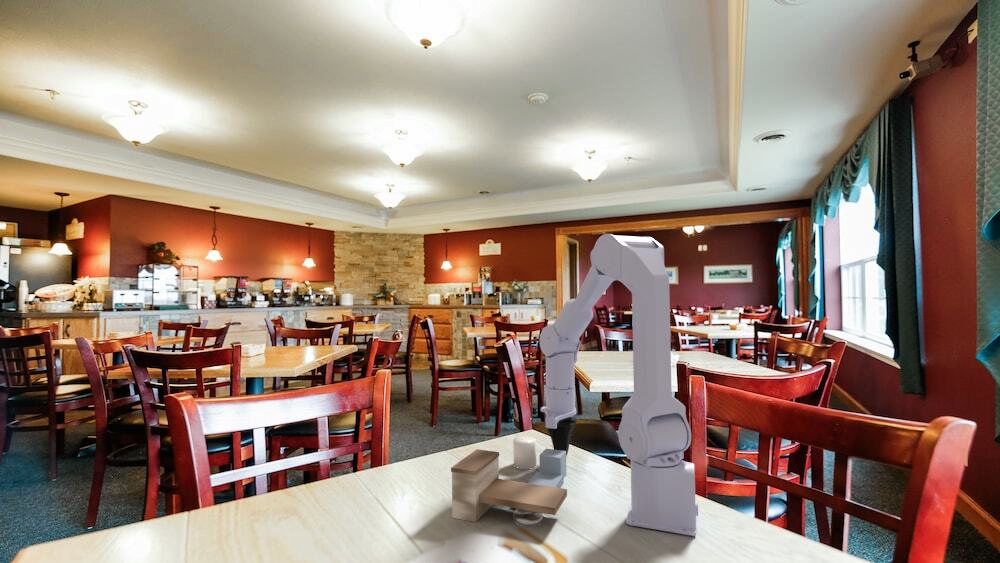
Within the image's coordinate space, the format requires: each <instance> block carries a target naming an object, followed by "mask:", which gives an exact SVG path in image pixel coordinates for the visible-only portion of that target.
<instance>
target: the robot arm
mask: <svg viewBox="0 0 1000 563" xmlns="http://www.w3.org/2000/svg"><path fill="white" fill-rule="evenodd" d="M590 263H591V264H590V265H591V267H590V268H589V270H588V273H587V275H586V277H585V279H584V280H583V283H582V285H581V287H580V289H579V290H578V294H577V295H576V297H575V298H571V299H569V300H567V301H565V303H564V305H563V307H562V308H561V310H560V312H559V314H558V316H557V317H556V319H555V320H554V322H553V324H549V325H548V326H545V327H543V328H542V330H541V333H540V334H539V348H540V351H541V352H542V354H543V355H544V356H545V400H546V401H545V406H542V407H540V412H542V413H545V418H544V427H545V428H546V430H547V432H548V434H549V436H550V439H551V443H552V448H553V450H561V451H566V457H568V453H569V448H570V443H571V437H572V434H573V430H574V427H575V426H576V424H577V421H578V419H577V417H573V416H575V415H576V414H577V408H576V385H575V384H576V382H575V381H576V379H575V377H576V375H575V373H576V372H575V364H576V363H577V362H578V353H579V351H580V349H581V342H582V341H581V340H580V338H581V337H582V334H584V332H585V331H586V329H587V327H588V326H589V325H590V322H592V320H593V318H594V311H593V307H594V306H595V305H596V304H597V302H598V301H599V300H600V299H601V297H602V296H604V295H603V294H604V293H605V292H606V291H607V290H608V288H609V287H610V286H611V284H612V283H613V282H615V281H618V282H621V284H623V286H625V287H626V288H627V289H628V290H629V291H630V293H631V305H632V306H631V307H632V308H631V309H632V315H631V316H632V318H631V319H632V354H633V355H632V365H633V370H632V372H633V394H632V395H631V396H630V398H628V400H627V401H626V402H625V404H624V405H623V406H622V409H621V412H622V413H621V416H622V417H621V421H620V423H619V426H618V432H617V434H618V435H617V436H618V441H619V444H620V448H621V449H622V451H623V453H624V454H625V455H626V459H628V460H630V486H631V487H630V489H631V490H630V491H631V494H630V495H631V496H630V498H631V502H630V506H629V510H628V512H627V517H626V520H625V523H626V524H627V525H629V526H634V527H639V528H646V529H651V530H657V531H662V532H663V531H664V532H669V533H674V534H680V535H686V536H693V537H695V536H696V535H697V518H696V517H699V503H698V502H697V501H696V480H695V479H696V478H695V477H696V475H695V474H696V473H695V472H696V470H695V469H696V468H695V463H694V462H688V461H685V460H683V459H684V452H685V451H686V450H687V449H688V448H689V446H690V445H691V442H692V430H691V427H690V424H689V422H688V419H687V414H686V413H687V412H686V410H687V409H686V408H687V407H686V406H685V405H684V403H682V402H681V401H680V400H678V399H677V398H675V397H674V396H673V394H672V353H671V351H672V350H671V349H672V348H671V346H672V345H671V303H670V278H669V275H668V272H667V269H666V265H665V248H664V245H662V244H661V243H659V242H658V241H657V240H655V239H654V238H653V237H651V236H632V235H614V234H613V233H604V234H602V235H601V236H599V238H597V240H596V242H595V244H594V246H593V248H592V250H591V251H590Z"/></svg>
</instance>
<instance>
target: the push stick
mask: <svg viewBox="0 0 1000 563" xmlns="http://www.w3.org/2000/svg"><path fill="white" fill-rule="evenodd" d="M566 476H567V456H566V451H561V450H554V448H553V449H551V448H545V449H544V450H543V451H541V453H540V454H539V471H537V472H535V473H534V474H533V476H532V477H531V478H530V479H529V481H528V482H527V483H530V484H536V485H543V486H549V487H556V488H561V487H562V486H563V485H564V482H565V481H564V479H565V478H566ZM564 477H565V478H564Z"/></svg>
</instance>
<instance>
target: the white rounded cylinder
mask: <svg viewBox="0 0 1000 563" xmlns="http://www.w3.org/2000/svg"><path fill="white" fill-rule="evenodd" d="M512 441H513V442H512V443H513V446H512V447H513V450H512V452H513V453H512V454H513V467H514V466H515V467H518V468H522V469H521V470H531V469H530V468H533V469H535V468H536V467H537V466H538V465H537V460H538V459H537V439H536V438H535V437H531V436H518V437H516V438H513V440H512ZM536 465H537V466H536ZM535 466H536V467H535ZM515 467H514V468H515ZM534 467H535V468H534ZM518 468H517V469H518Z"/></svg>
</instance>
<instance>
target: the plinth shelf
mask: <svg viewBox="0 0 1000 563" xmlns="http://www.w3.org/2000/svg"><path fill="white" fill-rule="evenodd" d="M499 457H500V451H494V450H485V449H475V450H474V451H472V452H471V453H469V454H468V455H466V456H465V457H463V459H461V460H460V461H458V462H457V463H455V464H454V465H453V466H451V467H450V472H451V498H452V499H451V515H452V516H451V517H452V519H457V520H461V521H462V520H463V521H468V522H472V523H477V522H478V521H479V520H480V518H481V517H482V516H483V515H485V513H486V512H487V511H488V510H489V509H490V508H491V507H492V506H499V507H506V508H509V509H511V508H512V509H515V510H516V509H521V510H527V511H533V512H539V513H542V514H545V515H551V516H556V515H557V512H558V511H559V509H560V508H561V506H562V505H563V503H564V501H565V500H566V498H567V497H568V488H567V489H566V488H556V487H549V486H543V485H536V484H530V483H528V482H521V481H515V480H508V479H503V478H500V473H499V472H500V471H499V470H500V468H499V466H500V465H499V460H500V459H499Z"/></svg>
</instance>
